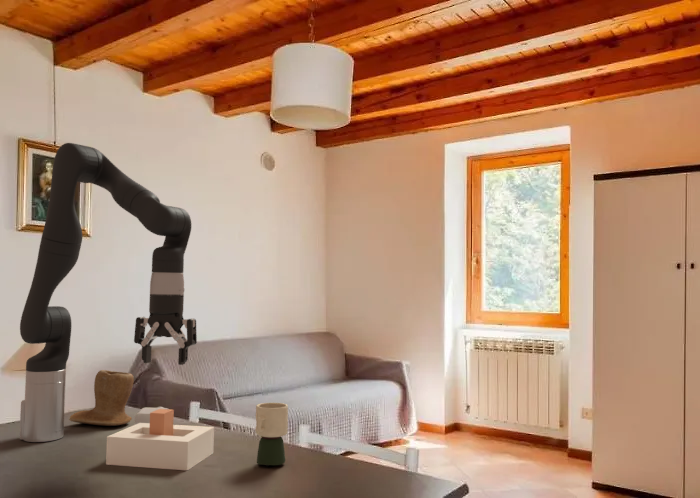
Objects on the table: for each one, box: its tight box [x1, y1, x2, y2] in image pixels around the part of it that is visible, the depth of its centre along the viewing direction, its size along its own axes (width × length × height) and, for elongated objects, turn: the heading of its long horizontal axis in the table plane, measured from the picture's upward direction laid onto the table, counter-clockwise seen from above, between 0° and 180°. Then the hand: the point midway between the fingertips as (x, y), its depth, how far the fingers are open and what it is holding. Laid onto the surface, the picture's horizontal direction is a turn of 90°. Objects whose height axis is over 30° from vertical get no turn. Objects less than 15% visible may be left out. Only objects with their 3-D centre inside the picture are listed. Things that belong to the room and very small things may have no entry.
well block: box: [105, 423, 215, 471], centre depth 142 cm, size 19×14×6 cm
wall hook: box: [134, 406, 168, 425], centre depth 158 cm, size 8×10×10 cm
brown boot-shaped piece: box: [68, 369, 135, 427], centre depth 175 cm, size 15×12×15 cm
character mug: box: [255, 402, 289, 468], centre depth 138 cm, size 11×7×13 cm, turn 154°
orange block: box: [149, 408, 175, 436], centre depth 142 cm, size 4×4×10 cm
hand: (164, 363), depth 143 cm, fingers open, 8 cm apart
